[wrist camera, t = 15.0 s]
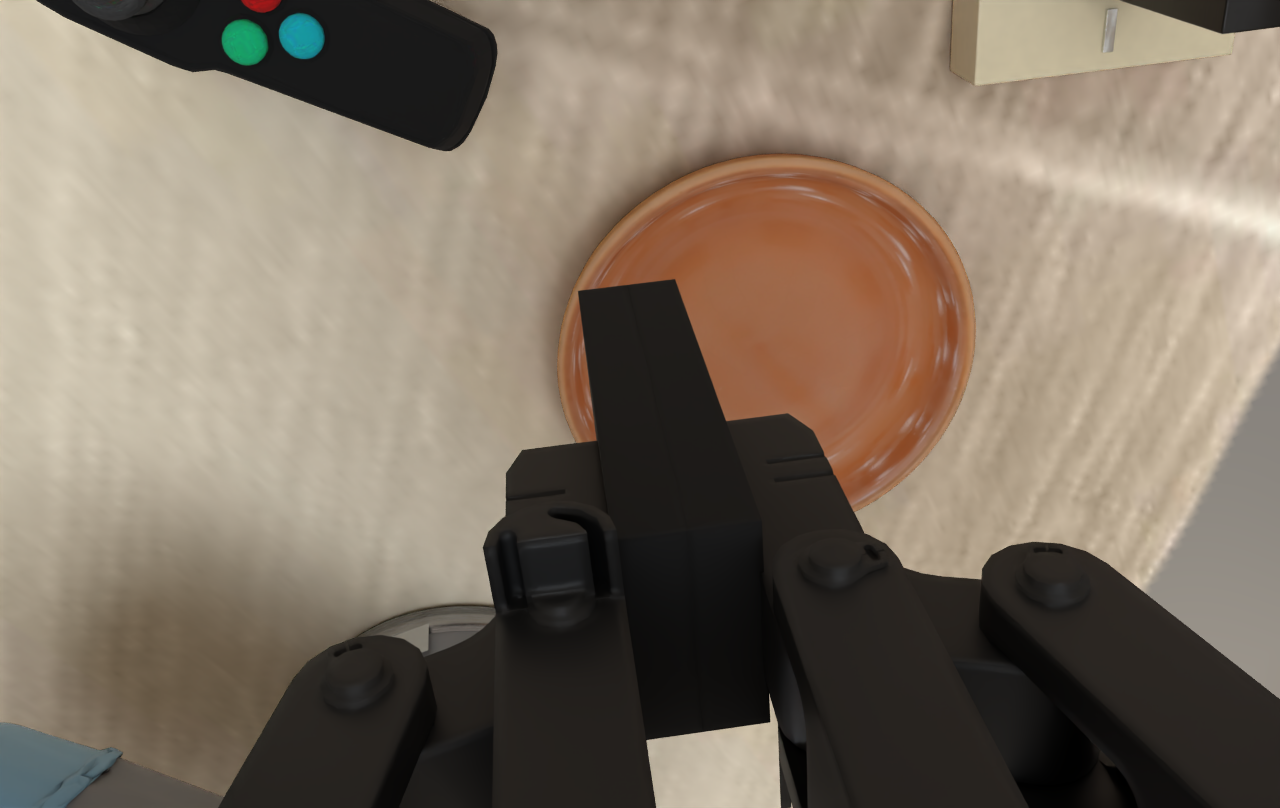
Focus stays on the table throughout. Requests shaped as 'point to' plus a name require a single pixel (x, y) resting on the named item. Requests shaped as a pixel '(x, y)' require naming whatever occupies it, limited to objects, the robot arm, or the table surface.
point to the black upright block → (1218, 13)
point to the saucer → (801, 307)
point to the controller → (322, 54)
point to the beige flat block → (1068, 39)
